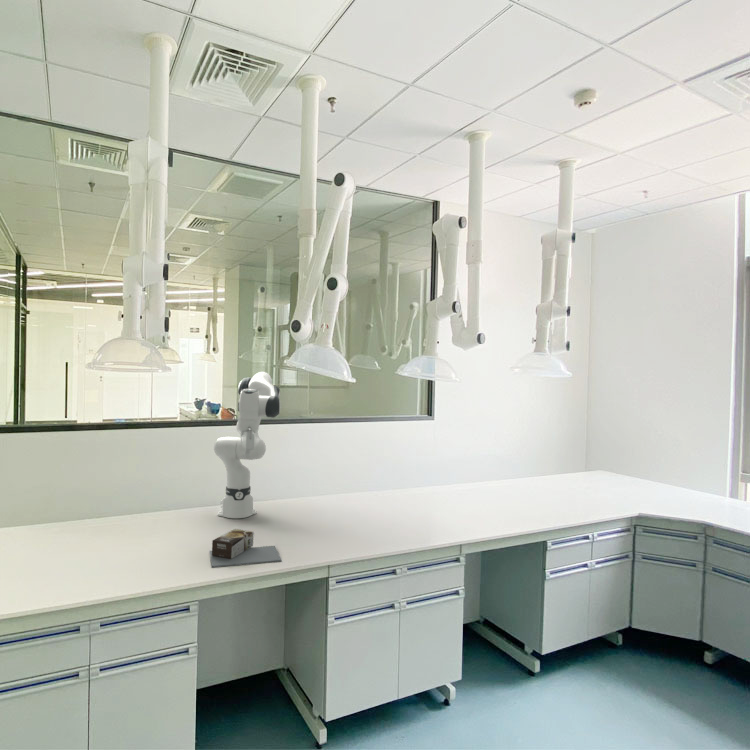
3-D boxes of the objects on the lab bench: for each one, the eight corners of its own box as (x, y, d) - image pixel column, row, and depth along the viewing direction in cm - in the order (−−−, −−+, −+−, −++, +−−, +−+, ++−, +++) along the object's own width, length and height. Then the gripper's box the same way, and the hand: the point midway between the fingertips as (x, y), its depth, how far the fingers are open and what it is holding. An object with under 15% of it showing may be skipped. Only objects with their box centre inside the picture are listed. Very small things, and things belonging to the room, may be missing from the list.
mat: (209, 552, 207) (209, 550, 207) (274, 547, 216) (274, 545, 216) (211, 567, 192) (211, 565, 192) (281, 561, 201) (281, 559, 201)
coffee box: (253, 530, 214) (232, 543, 199) (253, 546, 214) (231, 559, 199) (234, 527, 217) (211, 539, 201) (234, 542, 217) (211, 556, 201)
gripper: (258, 428, 217) (257, 461, 218) (252, 422, 237) (251, 452, 237) (243, 428, 215) (242, 461, 216) (238, 422, 234) (237, 453, 235)
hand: (247, 457), depth 226 cm, fingers closed
